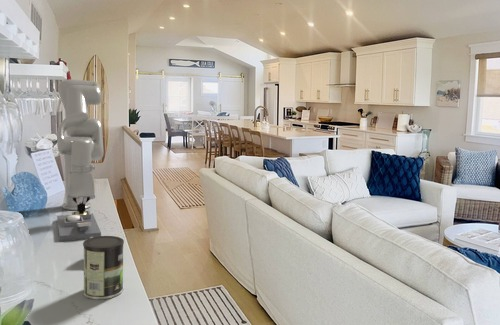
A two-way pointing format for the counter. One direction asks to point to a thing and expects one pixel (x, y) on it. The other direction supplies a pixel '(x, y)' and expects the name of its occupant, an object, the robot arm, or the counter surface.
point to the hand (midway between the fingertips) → (81, 212)
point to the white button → (73, 218)
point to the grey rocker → (83, 224)
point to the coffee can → (103, 267)
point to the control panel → (73, 231)
